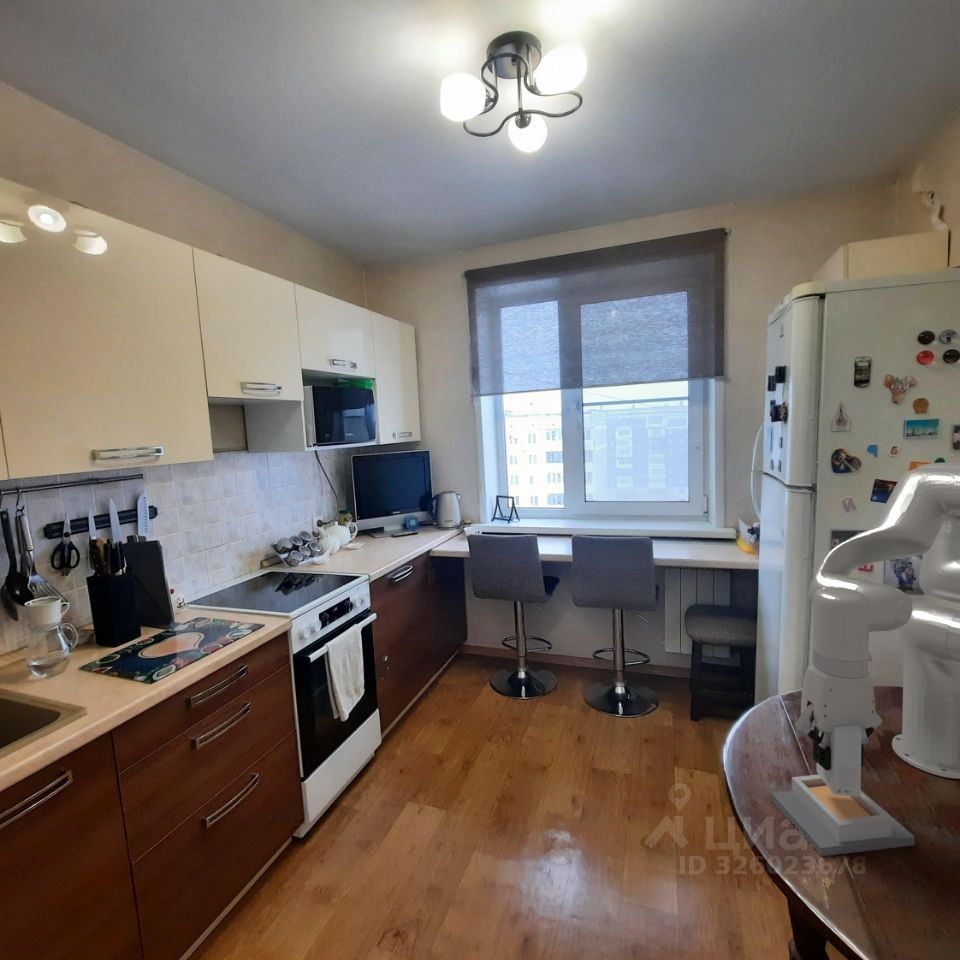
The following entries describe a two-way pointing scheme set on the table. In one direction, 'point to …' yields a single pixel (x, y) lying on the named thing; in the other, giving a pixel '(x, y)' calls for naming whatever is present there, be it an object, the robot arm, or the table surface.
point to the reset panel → (839, 821)
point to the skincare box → (844, 761)
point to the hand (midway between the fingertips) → (837, 762)
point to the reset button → (839, 803)
